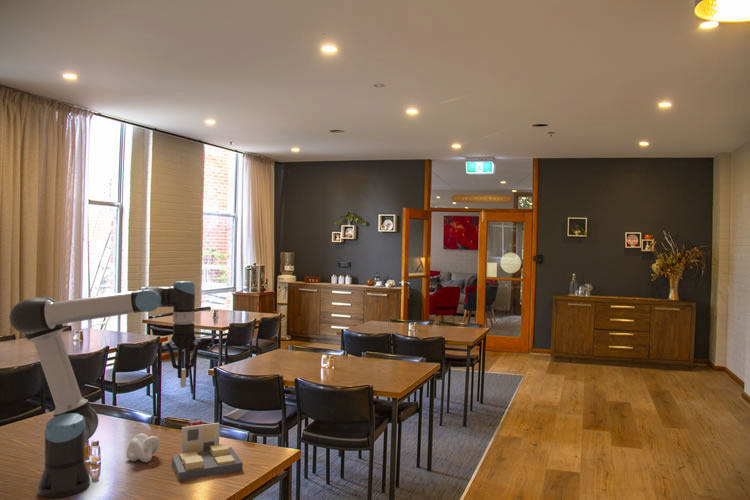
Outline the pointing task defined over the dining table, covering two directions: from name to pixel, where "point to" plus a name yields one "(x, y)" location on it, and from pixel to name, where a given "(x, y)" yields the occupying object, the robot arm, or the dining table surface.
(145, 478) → the dining table surface
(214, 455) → the button
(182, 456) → the button
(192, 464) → the button
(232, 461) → the button
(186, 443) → the button board
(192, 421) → the beverage can
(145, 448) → the white knot
